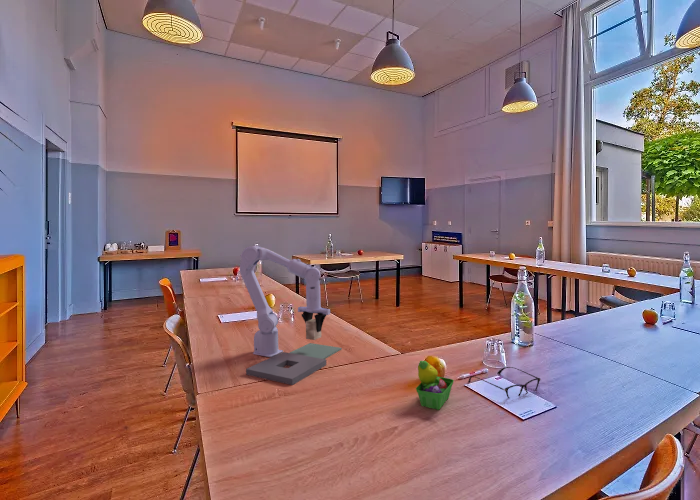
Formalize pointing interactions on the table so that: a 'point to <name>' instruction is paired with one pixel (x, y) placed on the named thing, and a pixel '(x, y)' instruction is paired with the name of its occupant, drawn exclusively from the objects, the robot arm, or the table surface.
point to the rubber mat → (316, 350)
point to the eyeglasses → (513, 385)
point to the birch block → (312, 330)
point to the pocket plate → (291, 375)
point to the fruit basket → (432, 386)
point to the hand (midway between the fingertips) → (314, 330)
